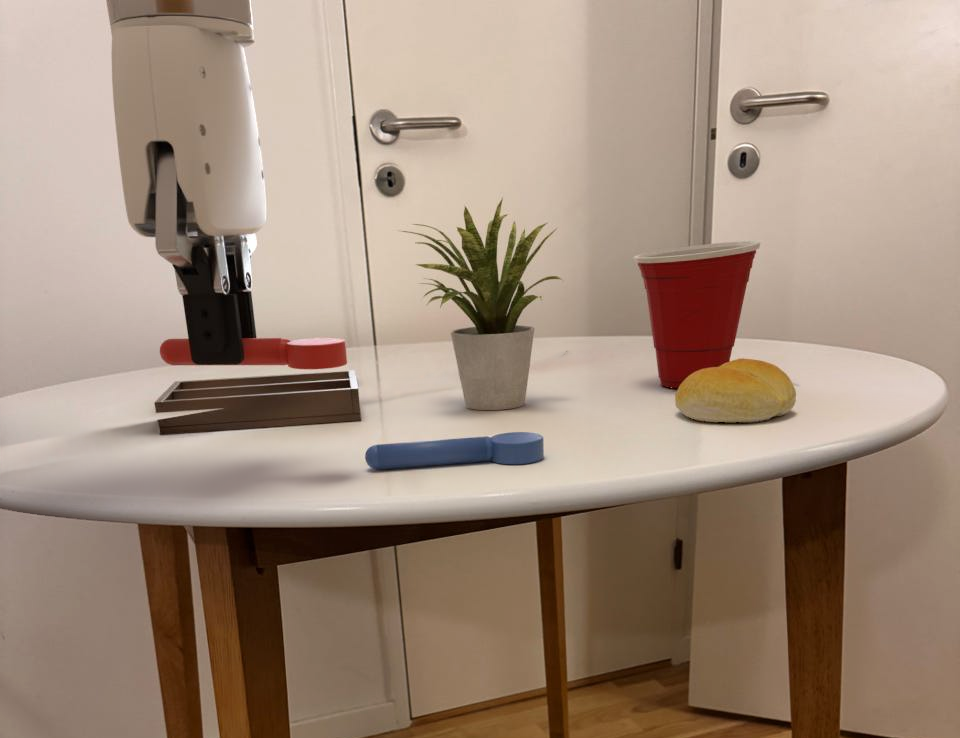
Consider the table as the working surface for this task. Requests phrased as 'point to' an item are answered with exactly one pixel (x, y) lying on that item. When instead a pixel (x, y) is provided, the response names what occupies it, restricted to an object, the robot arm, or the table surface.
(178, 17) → the robot arm
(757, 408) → the bread roll
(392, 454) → the blue spoon
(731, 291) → the plastic cup
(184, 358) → the red spoon
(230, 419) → the organiser
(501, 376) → the house plant
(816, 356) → the table surface
